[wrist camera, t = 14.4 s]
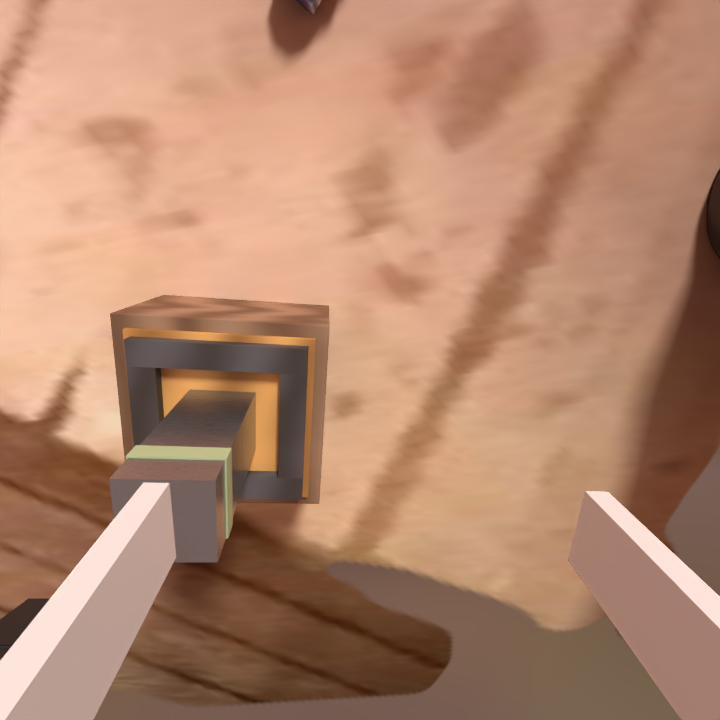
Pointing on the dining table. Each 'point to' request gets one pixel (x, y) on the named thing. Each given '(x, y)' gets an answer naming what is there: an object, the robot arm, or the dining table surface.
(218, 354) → the walnut stand
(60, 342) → the dining table surface
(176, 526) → the steel column
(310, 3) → the white plastic rod
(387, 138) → the dining table surface
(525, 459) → the dining table surface
